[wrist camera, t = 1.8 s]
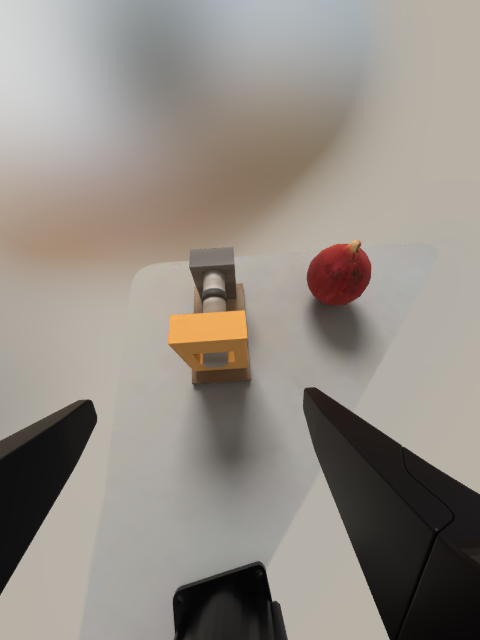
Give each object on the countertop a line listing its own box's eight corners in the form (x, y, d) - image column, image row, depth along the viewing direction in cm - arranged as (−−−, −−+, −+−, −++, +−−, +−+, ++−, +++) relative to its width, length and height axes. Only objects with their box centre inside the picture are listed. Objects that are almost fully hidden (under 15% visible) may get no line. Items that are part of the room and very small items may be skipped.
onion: (356, 316, 24) (404, 270, 17) (304, 319, 24) (330, 274, 17) (343, 273, 27) (380, 217, 20) (296, 276, 27) (315, 221, 20)
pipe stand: (250, 380, 22) (252, 363, 16) (193, 384, 22) (173, 369, 16) (242, 286, 26) (241, 246, 20) (195, 289, 26) (181, 250, 20)
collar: (246, 367, 21) (247, 338, 14) (194, 371, 21) (167, 343, 14) (245, 347, 22) (245, 310, 15) (194, 351, 22) (170, 315, 15)
